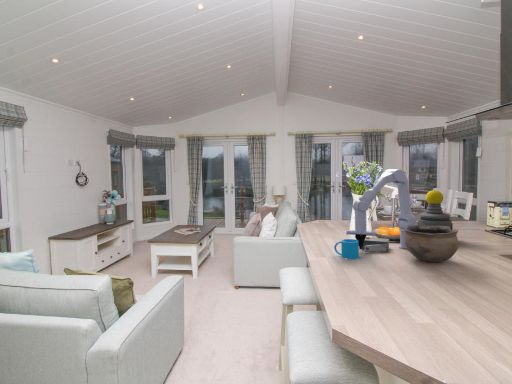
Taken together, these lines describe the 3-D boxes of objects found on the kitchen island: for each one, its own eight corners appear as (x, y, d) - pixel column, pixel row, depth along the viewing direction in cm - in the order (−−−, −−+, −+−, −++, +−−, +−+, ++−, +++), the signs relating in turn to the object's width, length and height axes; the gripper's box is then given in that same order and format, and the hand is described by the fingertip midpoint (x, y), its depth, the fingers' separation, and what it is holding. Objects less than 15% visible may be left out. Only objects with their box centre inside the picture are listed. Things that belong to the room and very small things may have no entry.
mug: (360, 255, 157) (360, 239, 157) (356, 260, 150) (356, 243, 150) (336, 253, 163) (336, 237, 163) (332, 257, 156) (331, 241, 156)
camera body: (389, 247, 172) (389, 237, 172) (387, 251, 165) (387, 240, 164) (360, 245, 179) (360, 235, 178) (358, 248, 171) (358, 238, 171)
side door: (387, 250, 165) (387, 243, 165) (388, 251, 163) (388, 244, 163) (364, 252, 163) (364, 245, 163) (365, 253, 161) (365, 245, 161)
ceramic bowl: (467, 268, 133) (467, 233, 132) (412, 266, 138) (412, 232, 137) (446, 254, 155) (447, 224, 154) (399, 253, 159) (399, 224, 158)
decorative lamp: (409, 238, 193) (409, 190, 192) (433, 236, 199) (433, 188, 197) (435, 245, 175) (435, 191, 174) (460, 242, 181) (461, 190, 179)
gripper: (345, 223, 165) (345, 249, 165) (374, 224, 158) (374, 251, 159) (347, 221, 171) (347, 246, 172) (376, 222, 165) (376, 248, 165)
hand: (360, 248), depth 166 cm, fingers closed
